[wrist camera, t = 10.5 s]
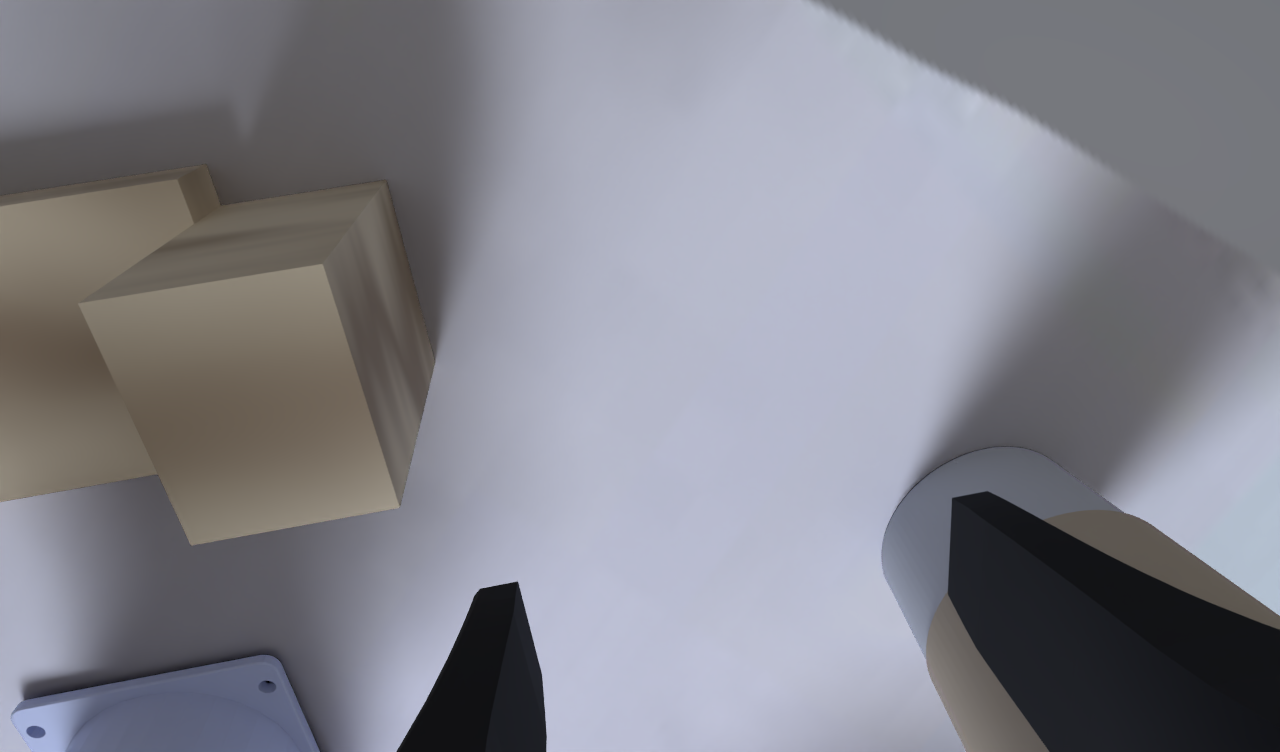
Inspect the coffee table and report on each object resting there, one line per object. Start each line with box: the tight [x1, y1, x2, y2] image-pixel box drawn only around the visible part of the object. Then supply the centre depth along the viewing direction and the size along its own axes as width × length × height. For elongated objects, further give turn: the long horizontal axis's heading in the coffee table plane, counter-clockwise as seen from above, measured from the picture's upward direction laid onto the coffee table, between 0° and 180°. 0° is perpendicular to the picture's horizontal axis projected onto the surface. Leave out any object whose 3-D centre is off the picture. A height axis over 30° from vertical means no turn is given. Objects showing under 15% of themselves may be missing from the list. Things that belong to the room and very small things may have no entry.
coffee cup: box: [882, 447, 1280, 752], centre depth 20 cm, size 9×9×15 cm
